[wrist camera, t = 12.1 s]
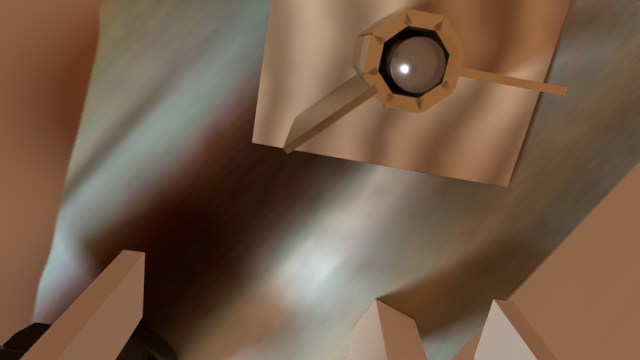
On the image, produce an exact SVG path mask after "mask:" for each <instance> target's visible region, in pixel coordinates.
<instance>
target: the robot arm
mask: <svg viewBox="0 0 640 360" xmlns="http://www.w3.org/2000/svg"><path fill="white" fill-rule="evenodd" d="M144 267H145V253H144V252H137V251H129V250H123V251H122V252H121V253H120V254H119V255H118V256H117V257H116V258H115V259H114V260H113V261H112V262H111V263H110V265H109V266H108V267H107V268H106V269H105V270H104V271H103V272H102V273H101V274H100V275H99V276H98V277H97V278H96V279H95V280H94V281H93V283H92V284H91V285H90V286H89V287H88V288H87V289H86V290H85V291H84V292H83V293H82V294H81V295H80V296H79V297H78V298H77V299H76V301H75V302H74V303H73V304H72V305H71V306H70V307H69V308H68V309H67V310H66V311H65V312H64V313H63V314H62V315H61V316H60V317H59V318H58V320H57V321H56V322H55V323H54V324H53V325H51V324H43V323H33V324H32V325H30V326H28V327H26V328H24V329H22V330H21V331H19V332H17V333H15V334H14V335H13V336H12V337H11V338H10V339H9V340H8V341H7V342H6V343H5V344H4V345H3V346H1V345H0V360H177V357H176V356H175V354H174V352H173V351H172V349H171V348H170V347H169V346H168V345H167V344H166V343H165V342H164V341H163V340H162V339H161V338H159V337H158V336H156V335H155V334H153V333H152V332H150V331H148V330H146V329H143V328H141V327H138V326H137V325H138V323H139V322H140V320H141V319H142V317H143V292H144ZM474 359H475V360H558V358H557V357H556V356H555V355H554V353H553V352H552V351H551V350H550V348H549V347H548V346H547V345H546V343H545V342H544V341H543V340H542V338H541V337H540V336H539V334H538V333H537V332H536V331H535V329H534V328H533V327H532V326H531V324H530V323H529V322H528V321H527V320H526V318H525V317H524V316H523V314H522V313H521V312H520V310H519V309H518V308H517V307H516V306H515V304H514V303H513V302H510V301H503V300H495V299H493V302H492V305H491V308H490V311H489V314H488V317H487V320H486V323H485V326H484V329H483V332H482V335H481V338H480V342H479V345H478V348H477V351H476V353H475V357H474Z"/></svg>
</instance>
